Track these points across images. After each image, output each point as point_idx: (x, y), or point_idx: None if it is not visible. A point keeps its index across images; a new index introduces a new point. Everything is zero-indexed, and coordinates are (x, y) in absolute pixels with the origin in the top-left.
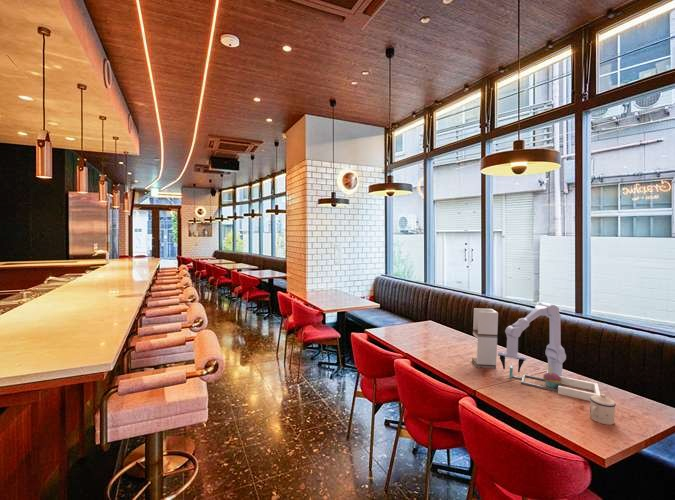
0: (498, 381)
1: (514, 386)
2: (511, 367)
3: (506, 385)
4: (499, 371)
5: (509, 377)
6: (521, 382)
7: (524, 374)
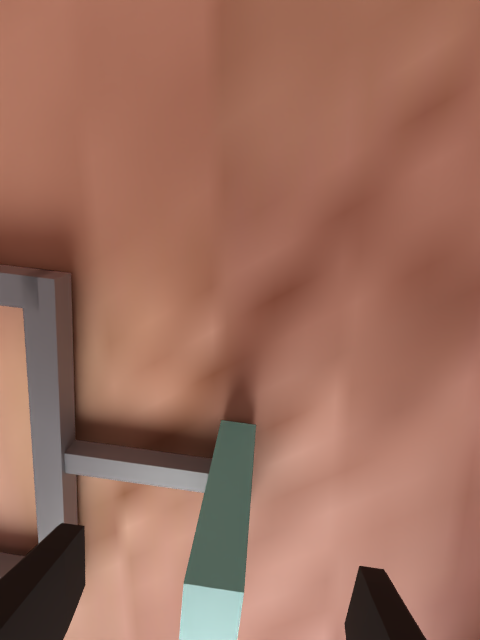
0: (450, 191)
1: (165, 91)
2: (203, 627)
3: (309, 52)
4: None
5: (254, 429)
6: (52, 274)
7: None
